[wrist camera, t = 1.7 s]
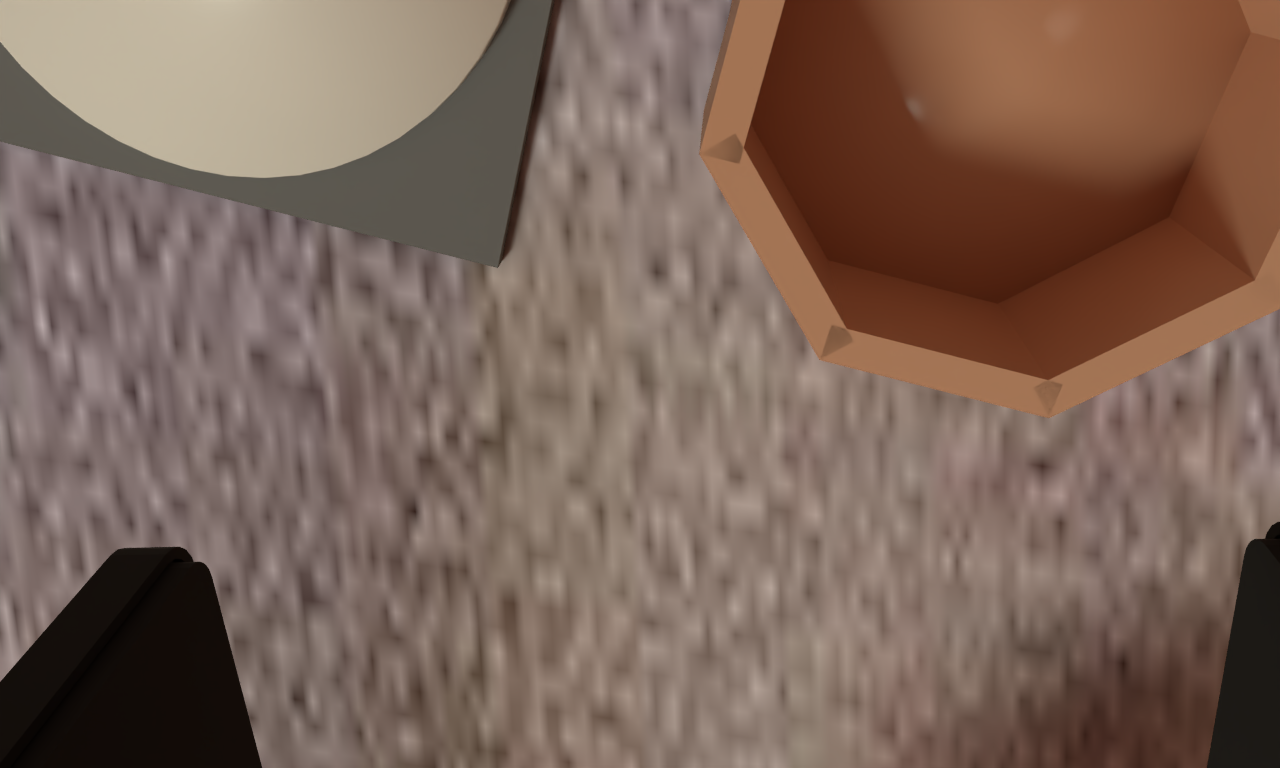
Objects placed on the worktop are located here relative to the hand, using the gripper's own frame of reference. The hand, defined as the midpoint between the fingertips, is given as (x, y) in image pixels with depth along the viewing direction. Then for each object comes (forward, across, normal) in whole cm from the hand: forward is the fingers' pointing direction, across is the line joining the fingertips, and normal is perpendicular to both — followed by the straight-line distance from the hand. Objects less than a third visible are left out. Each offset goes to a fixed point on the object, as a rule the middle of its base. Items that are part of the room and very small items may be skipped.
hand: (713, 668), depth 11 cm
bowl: (+26, -8, -1) cm, 27 cm away
